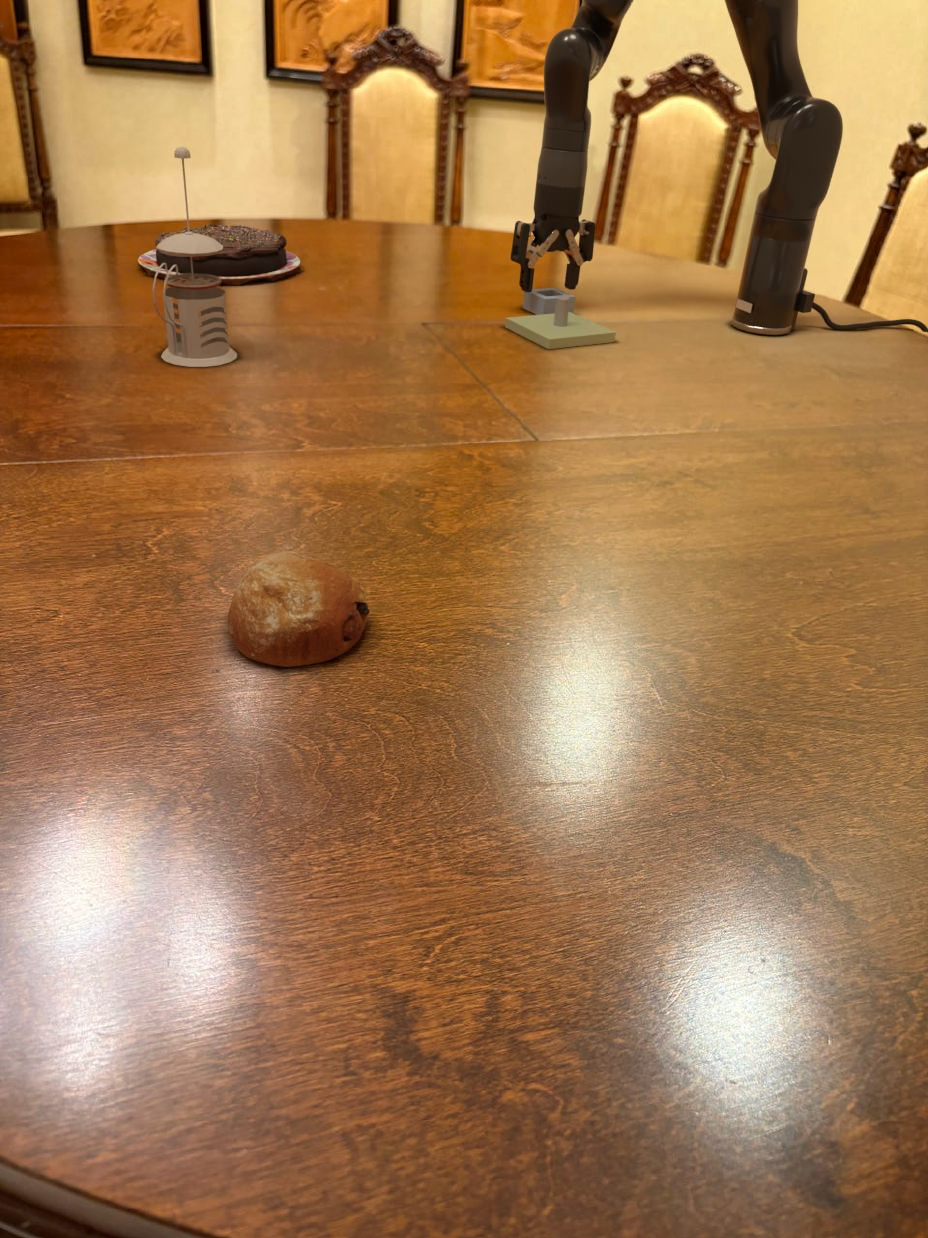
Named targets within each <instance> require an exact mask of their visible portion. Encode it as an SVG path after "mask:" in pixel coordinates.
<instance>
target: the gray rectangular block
mask: <svg viewBox="0 0 928 1238" xmlns="http://www.w3.org/2000/svg"><path fill="white" fill-rule="evenodd" d="M523 292H524V293H523V305H522V309H523V310H525V311H527V312H530V313H532V314H534V315H542V314H553V313H555V307H556V298H557V297H558V296H565V297H569V298H570V302H569V311H568V312H571V313H573V314H575V305H576V298H577V297H576V295H573V294H571V293H569V292H566V291H564V290H561V289H559V288H557V287H547V288H546V287H545V288H535V289H534V288H532V292H525V291H523Z"/></svg>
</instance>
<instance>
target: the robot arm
mask: <svg viewBox="0 0 928 1238" xmlns="http://www.w3.org/2000/svg"><path fill="white" fill-rule="evenodd" d="M581 1H582V2H581V5H580V7H579V8H578V9H579V10H578V12H577V13H576V16H575V17H574V20H573V22H572V25H571V27H568V28H567V27H566V28H564V29H562V30H561V29H560V31H558V32H557V33H556V34H555V35H553V36H552V38H551V40H550V42H549V43H548V46H547V49H546V52H545V56H544V64H543V94H544V95H543V96H544V97H543V98H544V99H543V100H544V108H545V109H544V110H545V115H544V119H543V120H544V121H543V129H542V138H541V139H542V140H541V149H540V153H539V157H538V162H537V169H536V170H537V172H536V180H535V181H536V182H535V188H534V189H535V191H534V201H533V214H534V217H533V220H532V222H524V221H521V220H517V221H515V224H514V230H513V236H512V243H511V244H512V245H511V252H510V261H511V262H514V263H517V264H519V266H520V271H519V281H518V284H519V287H520V289H521V291H522V292H532V289H534V288H533V286H534V278H535V268H534V267H535V265H536V264H537V263H538V261H539V260H540V258H542V257H544V256H545V254H546V253H547V252H548V253H553V252H556V251H558V252H563V253H564V255H565V257H566V258H567V261H568V262H569V263H566V269H565V270H566V271H565V277H564V288H566V289H567V290H570V291H572V290H576V288H577V286H578V284H579V281H580V272H581V267H582V265H583V264H584V263H586V262H591V261H592V260H593V257H594V248H595V236H596V235H595V234H596V222H595V221H591V220H588V219H582V220H581V221H580V216H581V215H582V212H583V207H584V199H585V190H586V183H587V173H588V166H589V165H588V163H589V161H588V159H589V158H588V157H589V155H588V153H589V146H590V145H589V144H590V137H591V129H592V112H591V110H590V108H589V106H588V105H589V104H588V103H589V90H590V82H591V81H592V80H594V79H595V78H596V77H598V74H599V73H600V72H601V70H602V69H603V67H604V65H605V64H606V63H607V60H608V58H609V56H610V53H611V51H612V49H613V46H614V44H615V41H616V39H617V37H618V34H619V31H620V28H621V25H622V22H623V20H624V18H625V16H626V14H627V13H628V11H629V10H630V8H631V6H632V4H633V3H634V1H635V0H581ZM724 3H725V6H726V10H727V13H728V17H729V18H730V22H731V25H732V26H733V29H734V33H735V36H736V39H737V40H736V41H737V42H738V45H739V49H740V52H741V55H742V58H743V60H744V63H745V66H746V69H747V72H748V75H749V78H750V82H751V86H752V90H753V95H754V100H755V104H756V110H757V115H758V120H759V126H760V132H761V136H762V141H763V144H764V147H765V149H766V151H767V152H768V154H769V156H771V157H772V158H773V159H774V160H775V163H774V167H773V172H772V175H771V178H770V182H769V183H768V185H767V186H766V187H765V189H763V190H761V192H759V194H758V196H757V199H756V203H755V207H754V213H753V218H752V223H751V228H750V234H749V239H748V243H747V247H746V253H745V256H744V257H745V258H744V263H743V266H742V272H741V278H740V281H739V287H738V291H737V296H736V301H735V307H734V311H733V315H732V318H731V325H732V327H734V328H736V329H738V330H741V331H743V332H747V333H752V334H755V335H756V334H757V335H764V336H765V335H766V336H781V335H786V334H787V335H788V334H789V333H790V332H791V331H794V330H795V327H796V323H797V319H798V315H799V313H802V314H806V313H811V312H812V309H813V310H814V311H816V312H817V313H818V314H819V315H820V316H821V318H822V319H823V322H824V324H825V325H826V326H827V327H828V328H830V329H831V330H835V331H840V332H841V331H853V330H865V329H872V328H879V327H881V328H882V327H893V326H903V325H911V326H915V327H917V328H918V329H919V330H921V331H922V332H924V333H928V326H927V325H926V324H924V323H923V322H922V321H920V320H917V319H913V318H900V319H893V320H875V321H870V322H860V323H850V324H837V323H835V322H833V321H832V320H831V318H830V316H829V314H828V313H827V311H826V309H824V308H823V306H821V305H819V304H817V302H815V296H816V294H815V293H813V292H810V291H807V290H805V286H806V280H807V277H808V273H809V272H808V271H809V270H808V269H807V268H806V263H807V258H808V254H809V250H810V246H811V242H812V237H813V233H814V228H815V224H816V220H817V216H818V212H819V209H820V207H821V205H822V204H823V202H824V201H825V199H826V197H827V194H828V191H829V189H830V185H831V182H832V180H833V179H832V178H833V174H834V171H835V167H836V165H837V164H836V163H837V161H838V157H839V153H840V150H841V145H842V140H843V133H844V123H843V117H842V113H841V112H840V110H839V108H838V107H837V106H836V104H834V103H832V102H831V101H829V100H826V99H825V98H824V99H823V98H819V97H814V96H813V94H812V92H811V90H810V88H809V87H810V86H809V85H808V82H807V79H806V76H805V73H804V69H803V67H802V63H801V59H800V54H799V49H798V47H799V45H798V25H799V24H798V23H799V0H724ZM532 235H533V237H532ZM577 235H579V237H578V243H577V241H576V236H577ZM530 237H532V238H531V240H530V241H529V239H530Z"/></svg>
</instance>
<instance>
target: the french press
mask: <svg viewBox="0 0 928 1238" xmlns="http://www.w3.org/2000/svg"><path fill="white" fill-rule="evenodd" d="M173 154H174V155H173V156H174V157H173V158H174V159H175V158H176V159H181V164H182V165H181V166H182V176H183V177H182V178H183V189H184V200H185V211H186V224H187V228H188V231H187V232H185V233H181V234H175V235H172V236H170V237H168V238H166V239H164V240H163V241H162V242H160V243H159V244H158V245H157V246H156V249H158V251H159V252H161V253H163V254H166V255H171V256H179V257H190V260H191V272H192V274H191V273H190V274H188V273H187V274H186V273H185V274H183V273H182V274H181V273H180V274H179V275H178V267H177V265H173V266H172V267H171V269H170V270H169V271H168V269H167V265H166V263H162V264H161V266H160V267H159V268H158V269H157V272H156V274H155V276H154V279H153V282H152V283H153V285H152V298H153V299H152V300H153V305H154V308H155V311H156V313H157V315H158V317H159V318H160V319H161V320H162V321H163V322H164V323H165V329H166V338H167V347H166V348H165V350H164V351H163V352H162V354H161V356H160V358H161V359H162V360H163V361H164V362H166V363H169V364H172V365H175V366H182V367H189V368H207V367H217V366H221V365H225V364H228V363H232V362H233V361H234V360H236V359H237V358H238V353H237V352H236V351H235V350H234V349H233V348H231V346H230V343H229V341H228V340H229V333H228V332H227V331H228V330H229V325H228V323H227V322H226V321H228V314H227V313H226V311H227V297H226V291H225V290H224V289H222V288H220V287H219V286H221V284H222V283H221V282H222V280H221V279H220V278H219V277H217V276H216V275H215V276H214V275H209V274H207V275H206V274H205V275H204V274H201V273H200V274H199V273H198V274H196V273H195V274H194V273H193V263H192V257H196V256H208V255H214V254H217V253H220V252H221V251H222V249H223V245H221V244H220V243H219V242H217V241H216V240H215V239H213V238H210V237H208V236H205V235H201V234H197V233H192V232H191V231H190V229H191V228H190V218H189V217H190V216H189V206H188V205H189V204H188V195H187V183H186V182H187V181H186V170H185V159H191V157H192V156H191V152H190V150H189V149H188V148H187V147H184V146H179V147H176V148H175V150H174V153H173ZM163 265H165V270H166V272H167V276H166V278H165V279H164V280H163V282H164V283H163V291H162V296H163V297H162V298H163V307H164V316H165V317H163V316H162V315H161V313H160V310H159V308H158V306H157V305H158V304H157V300H156V299H157V298H156V291H155V290H156V282H157V278H158V277H157V275H158V272H159V270H160V269H161V267H162V266H163ZM174 267H176V274H172V273H170V271H171V270H172V269H173V268H174ZM169 275H170V276H169ZM167 286H168V287H167ZM174 299H175V300H176V301H177V303H175V302H174V301H173V300H174ZM174 309H175V310H177V311H178V313H176V312H175V311H174ZM199 313H200V315H199ZM175 319H176V320H178V321H176V320H175ZM200 324H201V325H200ZM177 329H178V330H179V331H180V332H177Z"/></svg>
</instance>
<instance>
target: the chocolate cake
mask: <svg viewBox="0 0 928 1238" xmlns="http://www.w3.org/2000/svg"><path fill="white" fill-rule="evenodd" d="M187 231H188V227H186V226H185V227H184V228H183V229H181V230H178V231H171V232H170V231H168V232H162V233H160V234H158V236H157V237H156V240H155V242H154V243H155V246H156V247H157V245H158V244H159V243H160V242H162V241H163V240H164V239H166V238H168V237H170V236H172V235H175V234H181V233H185V232H187ZM190 231H191V232H192V233H197V234H201V235H205V236H208V237H210V238H213V239H215V240H216V241H217V242H219V243H220V244H221V245H223V249H222V251H221V252H220V253H217V254H214V255H208V256H196V257H192V263H193V273H194V274H195V273H196V274H198V273H199V274H200V273H201V274H204V275H205V274H206V275H207V274H209V275H214V276H215V275H216V276H217V277H219V278H220V279H221V280H222V282H221V284H226V285H231V286H240V285H243V284H246V283H251V282H260V281H269V282H275V281H278V280H281V279H283V278H286V277H289V276H292V275H294V274H297V273H301V270H300V269H298V268H299V267H300V266H301V264H302V261H301V259H300V258H299V256H298V255H296V254H294V253H292V252H290V251H287V250H286V249H285V247H286V246H287V242H288V241H287V238H285V237H286V236H284V235H283V234H281V233H277V232H273V231H270V230H269V229H265V230H262V229H258V228H256V227H250V226H248V225H247V226H246V225H244V226H243V225H242V224H241V225H240V224H239V225H235V224H233V225H231V224H230V225H227V224H211V223H210V224H209V225H206V224H205V225H204V226H200V227H195V228H190ZM137 263H138V264H139V266H140V267H141V268H142V269H143V270H144V272H145V273H146V274H147V276H148V277H155V274H156V272H157V269H158V268H159V267H160V266H161V264H162V263H166V265H167V269H168V271H169V270H170V269H171V267H172V266H173V265H177V267H178V275H179V274H180V273H181V274H182V273H183V274H185V273H186V274H187V273H188V274H190V273H191V274H192V272H191V260H190V257H179V256H171V255H166V254H163V253H161V252H159V251H158V249H157V248H156V249H152V250H149V251H148V252H145V253H143V254H141V255H139V257H138V258H137ZM170 273H172V274H176V267H174V268H173V269H172V270H171V271H170ZM166 276H167V272H166V270H165V265H163V266H162V267H161V269H160V270H159V272H158V275H157V278H160V279H164V280H165V278H166ZM169 276H170V275H169Z"/></svg>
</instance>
